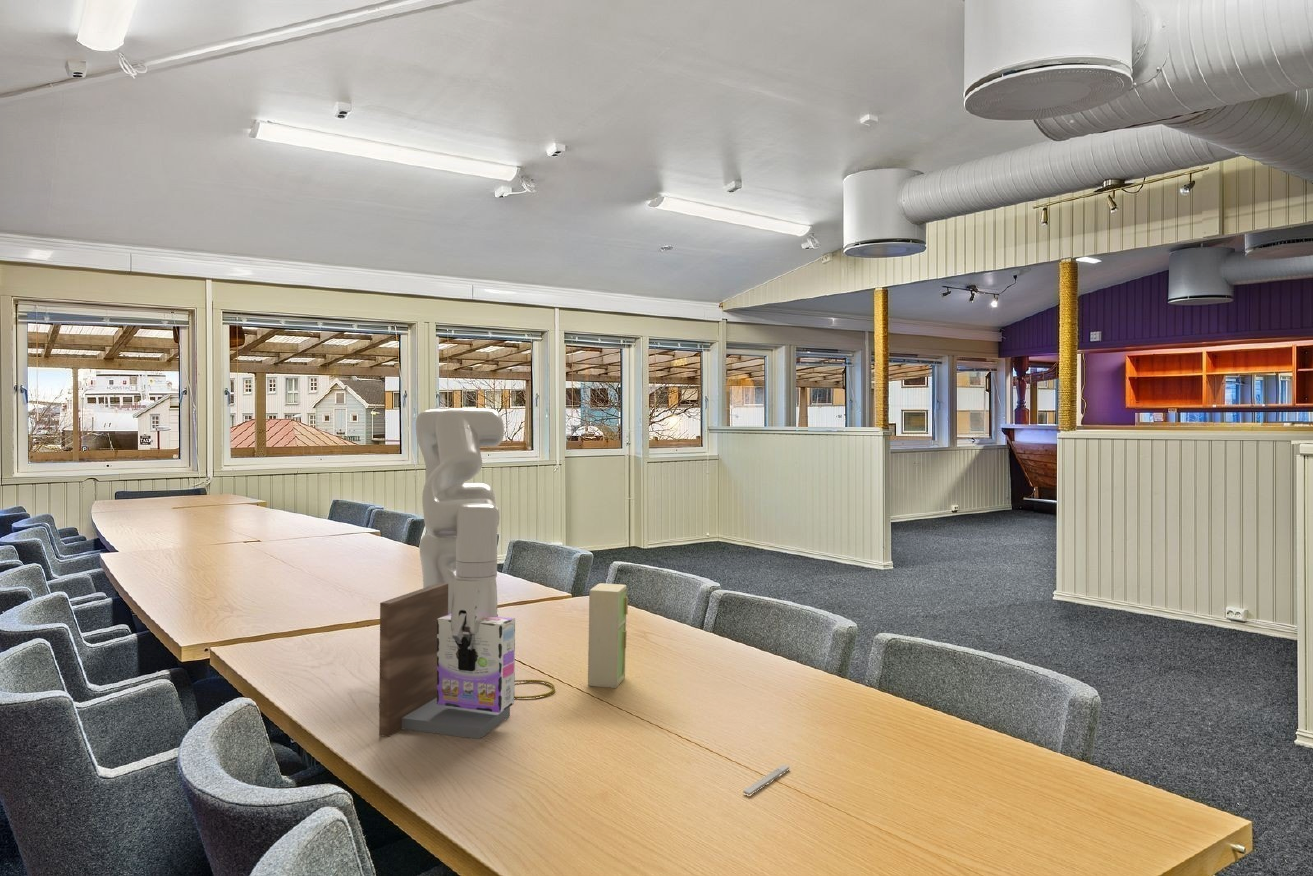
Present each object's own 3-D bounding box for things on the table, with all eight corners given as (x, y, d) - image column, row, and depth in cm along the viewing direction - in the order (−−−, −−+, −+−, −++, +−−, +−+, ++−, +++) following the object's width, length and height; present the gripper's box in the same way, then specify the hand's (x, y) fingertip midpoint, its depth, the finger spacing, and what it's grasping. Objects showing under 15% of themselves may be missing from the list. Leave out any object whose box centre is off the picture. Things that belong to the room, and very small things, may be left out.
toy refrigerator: (620, 689, 173) (621, 591, 173) (587, 686, 175) (588, 589, 175) (628, 677, 181) (630, 584, 181) (597, 675, 183) (598, 582, 182)
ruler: (749, 799, 123) (749, 793, 123) (743, 797, 124) (743, 790, 124) (789, 772, 133) (789, 766, 133) (783, 770, 134) (783, 764, 134)
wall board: (379, 735, 146) (380, 602, 145) (438, 700, 165) (439, 582, 165) (388, 736, 145) (389, 603, 145) (447, 701, 164) (448, 583, 164)
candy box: (515, 704, 152) (517, 617, 152) (500, 714, 147) (501, 624, 146) (452, 695, 157) (453, 610, 156) (434, 705, 151) (435, 617, 151)
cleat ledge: (401, 728, 149) (401, 718, 149) (436, 707, 161) (436, 697, 161) (479, 739, 145) (479, 728, 145) (509, 716, 156) (509, 706, 156)
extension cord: (516, 677, 182) (516, 668, 182) (566, 692, 172) (566, 682, 172) (473, 691, 172) (473, 681, 172) (524, 707, 163) (524, 697, 163)
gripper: (480, 560, 161) (480, 651, 161) (434, 576, 144) (433, 676, 144) (515, 563, 158) (514, 654, 159) (471, 579, 142) (470, 681, 142)
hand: (475, 664), depth 152 cm, fingers closed on candy box, 6 cm apart
